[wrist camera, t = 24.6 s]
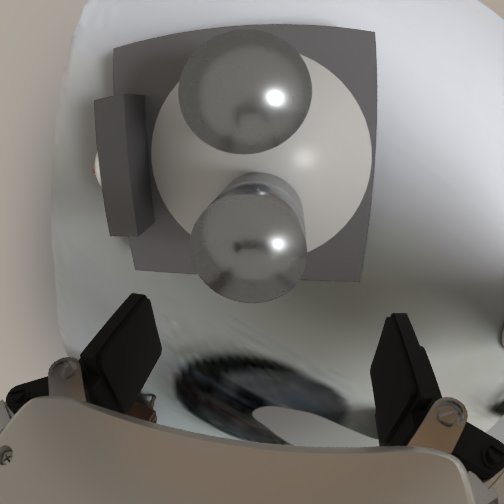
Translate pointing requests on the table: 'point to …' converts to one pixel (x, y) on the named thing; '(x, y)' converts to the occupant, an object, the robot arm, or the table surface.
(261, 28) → the scale
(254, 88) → the cylinder
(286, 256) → the cylinder
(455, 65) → the table surface
